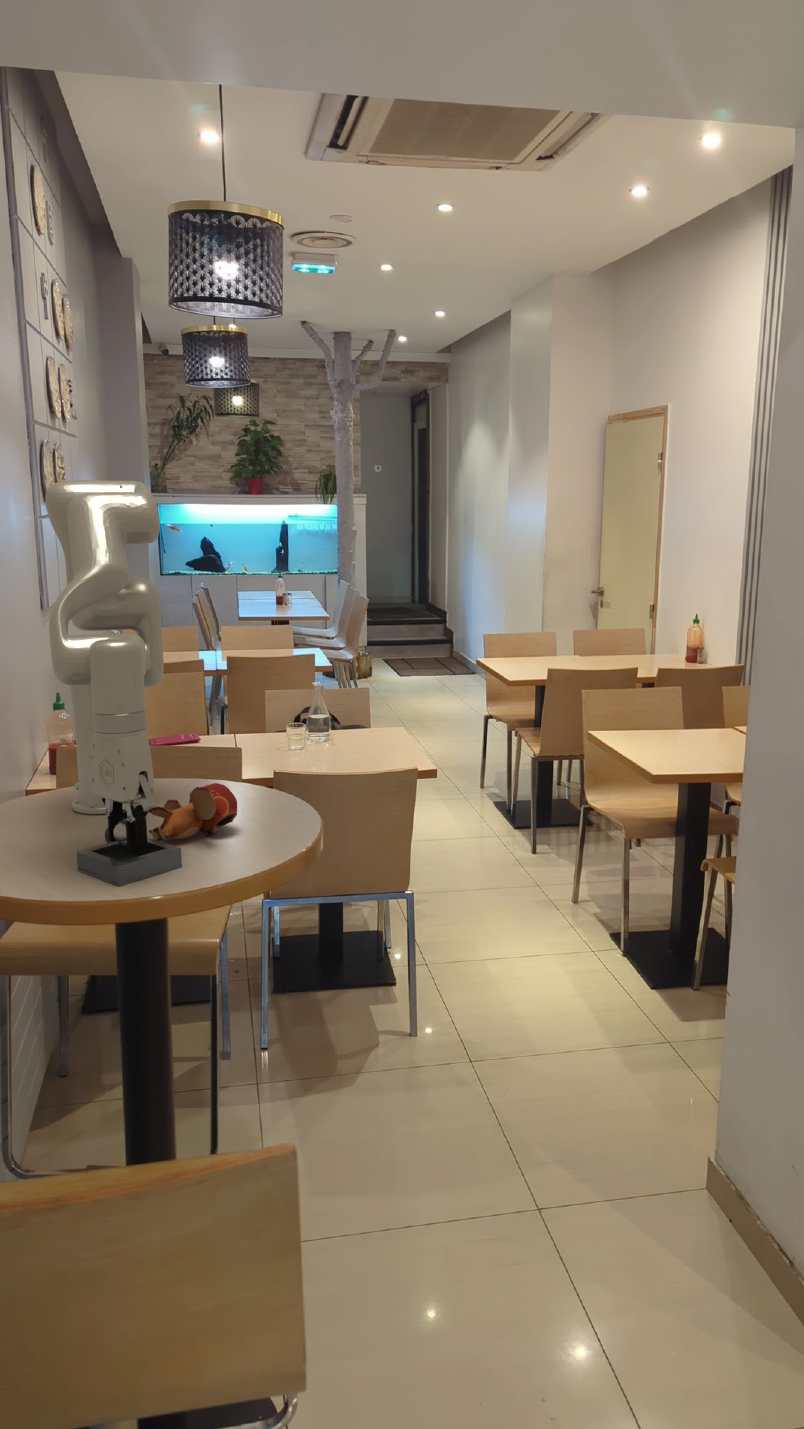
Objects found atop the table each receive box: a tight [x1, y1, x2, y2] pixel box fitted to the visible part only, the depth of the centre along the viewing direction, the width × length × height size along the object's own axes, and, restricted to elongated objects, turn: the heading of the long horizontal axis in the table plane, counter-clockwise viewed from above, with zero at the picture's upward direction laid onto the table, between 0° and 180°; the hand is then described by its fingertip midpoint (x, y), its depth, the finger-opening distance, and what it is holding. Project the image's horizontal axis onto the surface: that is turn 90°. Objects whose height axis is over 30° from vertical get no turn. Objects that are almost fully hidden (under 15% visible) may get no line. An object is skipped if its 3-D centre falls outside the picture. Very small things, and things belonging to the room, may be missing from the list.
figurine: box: [148, 782, 238, 842], centre depth 163 cm, size 20×9×15 cm
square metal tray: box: [76, 836, 183, 887], centre depth 147 cm, size 11×11×3 cm
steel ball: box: [114, 819, 129, 845], centre depth 146 cm, size 4×4×4 cm
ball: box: [104, 827, 111, 843], centre depth 158 cm, size 4×4×4 cm
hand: (128, 841), depth 147 cm, fingers closed on steel ball, 4 cm apart
